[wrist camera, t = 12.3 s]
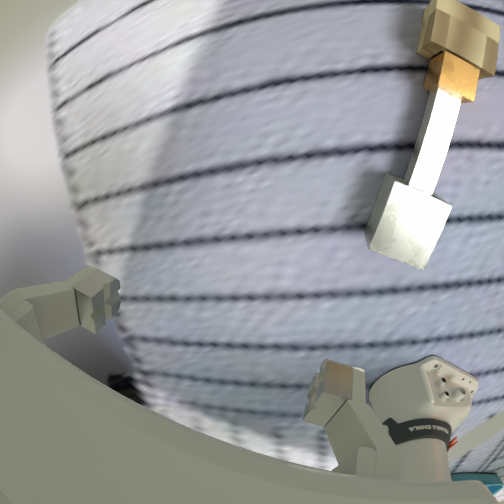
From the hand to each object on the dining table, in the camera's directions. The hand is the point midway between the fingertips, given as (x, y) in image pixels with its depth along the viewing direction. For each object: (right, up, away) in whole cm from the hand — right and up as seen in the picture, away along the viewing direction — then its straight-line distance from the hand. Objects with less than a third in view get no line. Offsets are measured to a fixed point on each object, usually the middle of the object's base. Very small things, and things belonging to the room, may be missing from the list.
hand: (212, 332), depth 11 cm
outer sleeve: (+20, +8, +24) cm, 32 cm away
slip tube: (+23, +19, +18) cm, 34 cm away
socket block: (+25, +28, +13) cm, 40 cm away
